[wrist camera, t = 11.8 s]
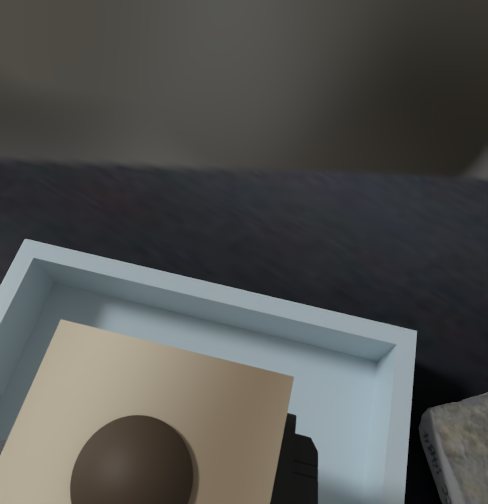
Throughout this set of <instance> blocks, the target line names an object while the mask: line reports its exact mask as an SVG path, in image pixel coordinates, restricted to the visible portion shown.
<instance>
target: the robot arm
mask: <svg viewBox="0 0 488 504" xmlns="http://www.w3.org/2000/svg"><path fill="white" fill-rule="evenodd" d="M295 430H296V415H294V414H290V413H287V417H286V422H285V427H284V433H283V438H282V443H281V448H280V454H279V459H278V464H277V469H276V475H275V480H274V485H273V490H272V496H271V501H270V504H318V451H317V449H316V447H315V445H314V443H313V441H312V439H311V437H307V436H303V435H299V434H296V433H295ZM6 441H7V440H3V441H0V455H1V452H2V450H3V448H4V446H5V443H6Z"/></svg>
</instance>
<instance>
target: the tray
mask: <svg viewBox="0 0 488 504" xmlns="http://www.w3.org/2000/svg"><path fill="white" fill-rule="evenodd" d="M61 319H62V320H66V321H70V322H74V323H78V324H82V325H86V326H90V327H95V328H99V329H103V330H107V331H111V332H115V333H119V334H123V335H127V336H131V337H135V338H139V339H143V340H147V341H151V342H155V343H159V344H163V345H167V346H172V347H176V348H180V349H184V350H188V351H192V352H196V353H200V354H204V355H208V356H212V357H216V358H220V359H224V360H228V361H232V362H236V363H240V364H244V365H249V366H253V367H257V368H261V369H265V370H269V371H273V372H277V373H281V374H285V375H289V376H293V377H294V380H293V385H292V391H291V396H290V401H289V406H288V412H287V413H290V414H294V415H296V430H295V433H296V434H299V435H303V436H307V437H311V439H312V441H313V443H314V445H315V447H316V449H317V451H318V504H404V499H405V485H406V472H407V458H408V445H409V432H410V418H411V405H412V391H413V378H414V364H415V351H416V338H417V331H414V330H410V329H406V328H402V327H398V326H393V325H389V324H385V323H381V322H376V321H372V320H368V319H364V318H359V317H355V316H351V315H347V314H342V313H338V312H334V311H330V310H325V309H321V308H317V307H313V306H308V305H304V304H300V303H296V302H291V301H287V300H283V299H279V298H274V297H270V296H266V295H262V294H257V293H253V292H249V291H245V290H240V289H236V288H232V287H228V286H223V285H219V284H215V283H211V282H207V281H202V280H198V279H194V278H190V277H185V276H181V275H177V274H173V273H168V272H164V271H160V270H156V269H151V268H147V267H143V266H139V265H134V264H130V263H126V262H122V261H117V260H113V259H109V258H105V257H100V256H96V255H92V254H88V253H83V252H79V251H75V250H71V249H66V248H62V247H58V246H54V245H49V244H45V243H41V242H37V241H32V240H28V239H25V240H24V241H23V243H22V245H21V247H20V249H19V251H18V253H17V255H16V257H15V259H14V261H13V262H12V264H11V266H10V268H9V270H8V272H7V274H6V276H5V278H4V280H3V282H2V283H1V285H0V441H3V440H7V439H8V437H9V434H10V432H11V430H12V428H13V425H14V423H15V421H16V419H17V416H18V414H19V412H20V410H21V407H22V405H23V403H24V401H25V398H26V396H27V394H28V392H29V389H30V387H31V385H32V383H33V380H34V378H35V376H36V374H37V371H38V369H39V367H40V365H41V362H42V360H43V358H44V356H45V353H46V351H47V349H48V347H49V344H50V342H51V340H52V338H53V335H54V333H55V331H56V329H57V326H58V324H59V322H60V320H61Z"/></svg>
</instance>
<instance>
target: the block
mask: <svg viewBox="0 0 488 504" xmlns="http://www.w3.org/2000/svg"><path fill="white" fill-rule="evenodd" d="M293 380H294V377H293V376H289V375H285V374H281V373H277V372H273V371H269V370H265V369H261V368H257V367H253V366H249V365H244V364H240V363H236V362H232V361H228V360H224V359H220V358H216V357H212V356H208V355H204V354H200V353H196V352H192V351H188V350H184V349H180V348H176V347H172V346H167V345H163V344H159V343H155V342H151V341H147V340H143V339H139V338H135V337H131V336H127V335H123V334H119V333H115V332H111V331H107V330H103V329H99V328H95V327H90V326H86V325H82V324H78V323H74V322H70V321H66V320H62V319H61V320H60V322H59V324H58V326H57V329H56V331H55V333H54V335H53V338H52V340H51V342H50V344H49V347H48V349H47V351H46V353H45V356H44V358H43V360H42V362H41V365H40V367H39V369H38V371H37V374H36V376H35V378H34V380H33V383H32V385H31V387H30V389H29V392H28V394H27V396H26V398H25V401H24V403H23V405H22V407H21V410H20V412H19V414H18V416H17V419H16V421H15V423H14V425H13V428H12V430H11V432H10V434H9V437H8V439H7V441H6V443H5V446H4V448H3V450H2V452H1V455H0V504H270V501H271V496H272V490H273V485H274V480H275V475H276V469H277V464H278V459H279V454H280V448H281V443H282V438H283V433H284V427H285V422H286V417H287V412H288V406H289V401H290V396H291V391H292V385H293Z"/></svg>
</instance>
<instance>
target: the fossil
mask: <svg viewBox="0 0 488 504" xmlns="http://www.w3.org/2000/svg"><path fill="white" fill-rule="evenodd" d="M419 433H420V440H421V443H422V446H423V449H424V452H425V455H426V459H427V462H428V465H429V468H430V470H431V473H432V476H433V479H434V482H435V484H436V487H437V490H438V494H439V497H440V500H441V502H442V504H488V392H487V393H485V394H482V395H479V396H474V397H470V398H467V399H464V400H462V401H460V402H452V403H447V404H443V405H439V406H435V407H431V408H428V409H427V410H426V411H425V412H424V413H423V414H422V417H421V422H420V425H419Z"/></svg>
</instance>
